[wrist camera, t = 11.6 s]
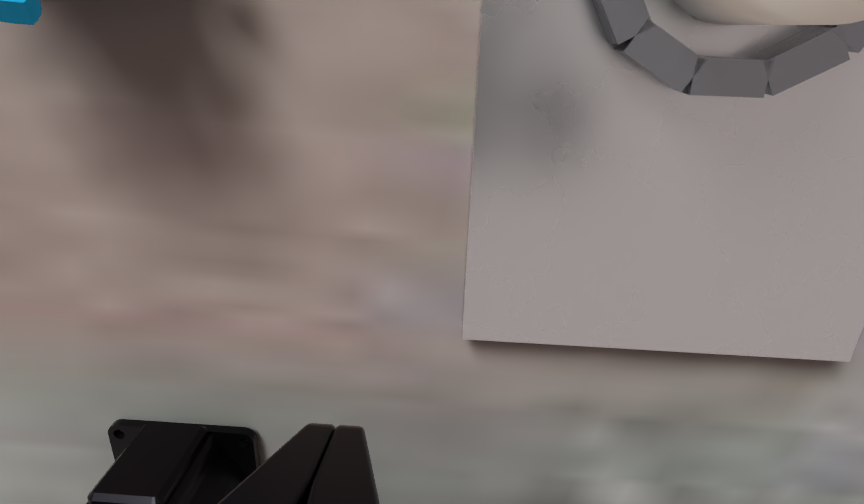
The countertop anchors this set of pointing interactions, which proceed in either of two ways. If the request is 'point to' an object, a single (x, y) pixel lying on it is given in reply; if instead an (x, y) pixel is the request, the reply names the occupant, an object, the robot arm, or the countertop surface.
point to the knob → (775, 11)
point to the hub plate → (666, 182)
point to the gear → (20, 11)
